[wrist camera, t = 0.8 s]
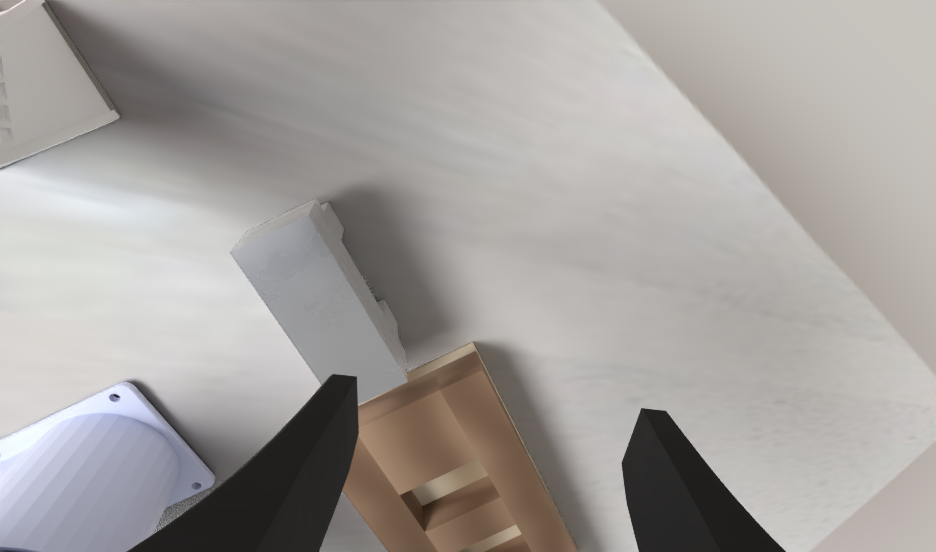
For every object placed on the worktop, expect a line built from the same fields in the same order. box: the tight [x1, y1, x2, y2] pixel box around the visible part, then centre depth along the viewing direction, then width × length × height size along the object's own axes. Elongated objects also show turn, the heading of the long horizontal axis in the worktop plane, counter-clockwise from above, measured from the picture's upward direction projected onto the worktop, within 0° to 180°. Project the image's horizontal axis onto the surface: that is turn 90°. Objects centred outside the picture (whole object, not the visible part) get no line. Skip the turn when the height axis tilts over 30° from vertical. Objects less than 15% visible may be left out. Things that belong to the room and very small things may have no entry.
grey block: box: [230, 198, 408, 405], centre depth 24 cm, size 4×9×5 cm, turn 24°
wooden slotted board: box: [342, 342, 579, 552], centre depth 32 cm, size 10×20×3 cm, turn 24°
